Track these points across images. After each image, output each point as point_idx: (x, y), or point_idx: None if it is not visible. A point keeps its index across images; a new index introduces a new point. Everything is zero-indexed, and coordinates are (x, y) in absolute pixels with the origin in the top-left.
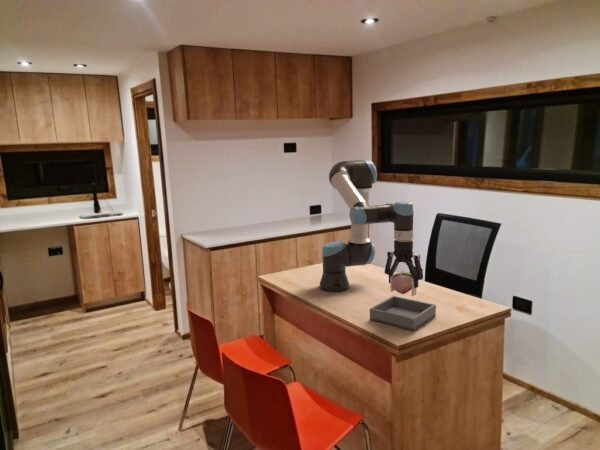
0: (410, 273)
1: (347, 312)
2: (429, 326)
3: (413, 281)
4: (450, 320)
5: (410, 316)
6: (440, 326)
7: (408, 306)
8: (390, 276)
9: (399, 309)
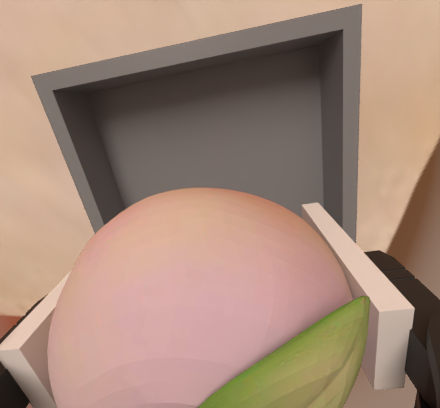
0: (308, 399)
1: (34, 280)
2: (360, 175)
3: (394, 370)
4: (424, 24)
5: (249, 164)
6: (403, 140)
7: (167, 73)
8: (22, 395)
9: (149, 125)
